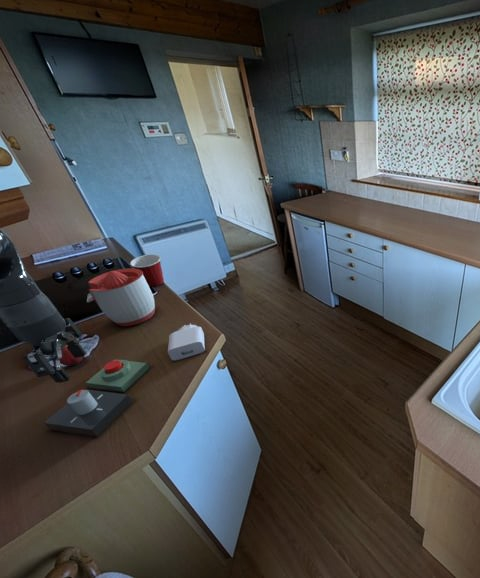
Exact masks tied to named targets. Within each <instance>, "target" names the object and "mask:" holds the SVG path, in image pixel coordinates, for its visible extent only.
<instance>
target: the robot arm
mask: <svg viewBox="0 0 480 578" xmlns="http://www.w3.org/2000/svg"><path fill="white" fill-rule="evenodd" d="M0 320H1V321H2V322H3V323H4V324H5V326H6V327H7V328H8V329H9V330H10V331H11V333H12V334H13V335H14V336H15V337H16V338H17V339H18V341H20V342H23V343H26V344H30V346H31V348H32V351H31V352H30V353H27V354H23V355H22V360H23V361H24V363H26V365H27V366H28V367H29V368H30V370H31V371H32V372H33V373H34V375H35V376H36V377H37V378H40V377H41V378H42V377H45V376H49V377H50V378H51V379H52V380H53V381H54V383H56V384H57V383H58V384H61V383H65V382H68V381H70V379H71V377H70V375H69V374H68V373H67V372H66V371H65V369H64V368H63V366H62V364H61V363H60V359H62V353H61V352H62V350H63V348H64V347H65V346H67V345H68V346H67V349H68V350H69V351H70V353H71V354H72V355H73V356H74V357H75V358H78V357H83V356H84V357H85V356H86V354H87V352H86V351H85V349H84V348H83V346H82V345H81V344H80V342H81V340H80V338H81V337H82V336H83V334H82V332H81V331H80V329H78V327H77V326H76V324H75V323H74V322H73V321H72V319H71V318H70V317H67V318H64V317H63V316H62V315H61V313H60V312H59V310H58V309H57V307H56V306H55V305H54V304H53V302H52V301H51V299H50V298H49V297H48V296H47V295H46V294H45V293H44V292H43V290H41V289H40V287H39V286H38V285H37V283H36V282H35V280H34V279H33V277H32V276H31V275H30V274H29V273H28V272H27V270H26V267H25V264H24V261H23V260H22V257H21V255H20V254H19V251H18V248H17V247H16V245H15V244H14V241H13V240H12V238H10V236H9V235H8V234H7V233H6V232H5V231H4V230H3V229H1V228H0ZM71 332H72V333H71ZM47 356H52V357H47ZM84 357H83V358H84ZM50 362H52V363H53V365H52V364H51V363H50Z"/></svg>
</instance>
